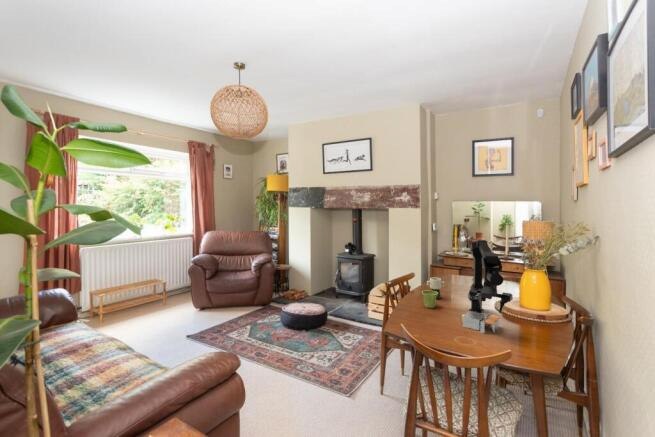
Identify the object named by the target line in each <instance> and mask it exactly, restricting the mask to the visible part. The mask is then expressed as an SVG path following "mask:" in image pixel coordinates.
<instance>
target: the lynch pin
mask: <svg viewBox="0 0 655 437" xmlns="http://www.w3.org/2000/svg"><path fill="white" fill-rule="evenodd" d="M465 314H466V313H462V315H461V318H460V320H461V323H463V316H464V315H465ZM481 321H483V320H481ZM491 326H492V325H491V324H486V323H485V327H489V328H490V327H491Z"/></svg>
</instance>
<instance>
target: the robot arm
mask: <svg viewBox="0 0 655 437" xmlns="http://www.w3.org/2000/svg"><path fill="white" fill-rule="evenodd" d="M469 251H470V254H471V255H472V257H473V283H472V284H471V285H470V289H469V291H468V294H467V299H468V300H469V301H470V308H469V309H468V310H469V311H472V312H477V313H481V314H482V312H484V311H485V309H484V308H483V302H486V300H492V298H498V299H500V300H499V302H500V303H499V314H502V311H503V309H504V307H505V305H506V304H507V303H510V302H511V301H512V300H513V298H514V297H513V294H512V293H511V292H510V293H509V292H502V293H498V286H501V285H502V284H503V283H504V278H503V276H502V275H501V274H500V272H502V271H503V264H502V261H501V258H500V257H499V256H498V254H497V253H495V252H492V250H491V248H490V246H489V244H488V240H487V239H478V240H475V241H473V242H472V243H471V244H470V245H469ZM483 271H484V272H483ZM483 277H484V278H483ZM469 311H468V312H469Z"/></svg>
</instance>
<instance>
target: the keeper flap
mask: <svg viewBox="0 0 655 437" xmlns="http://www.w3.org/2000/svg"><path fill="white" fill-rule="evenodd" d="M499 319H501V316H498V315H494V314H493V315H489V316H488V315H487V316H486V317H485V319H484V320H483V321H485V323H486V324H491V325H490V326H493V325H494V324H495V323H496V322H497V321H498V322H499Z"/></svg>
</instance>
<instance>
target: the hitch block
mask: <svg viewBox="0 0 655 437" xmlns="http://www.w3.org/2000/svg"><path fill="white" fill-rule="evenodd" d="M464 314H465V315H464V316H463V322H462V328H467V329H470V328H471V330H476V331H479V333H481V334H486V326H485V321H481V320H484V319H485V318H486V314H485V313H482V312H481V313H479V312H474V311H467V313H464ZM489 315H494V314H493V313H489V312H488V314H487V317H488V316H489ZM498 329H499V320H498V321H497V322H496V323H495V324H494V325H492V333H496V331H497V330H498Z"/></svg>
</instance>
